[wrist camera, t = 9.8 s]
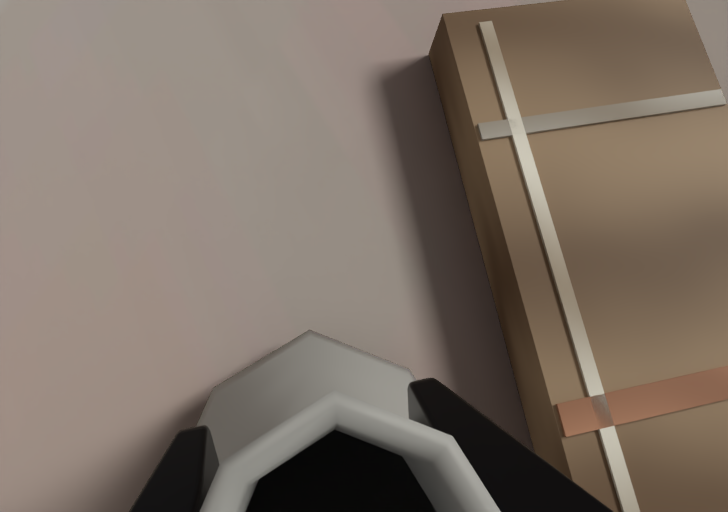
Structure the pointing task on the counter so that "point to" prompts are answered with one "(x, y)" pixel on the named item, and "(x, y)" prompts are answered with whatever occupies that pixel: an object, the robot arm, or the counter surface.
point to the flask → (331, 438)
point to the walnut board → (602, 235)
